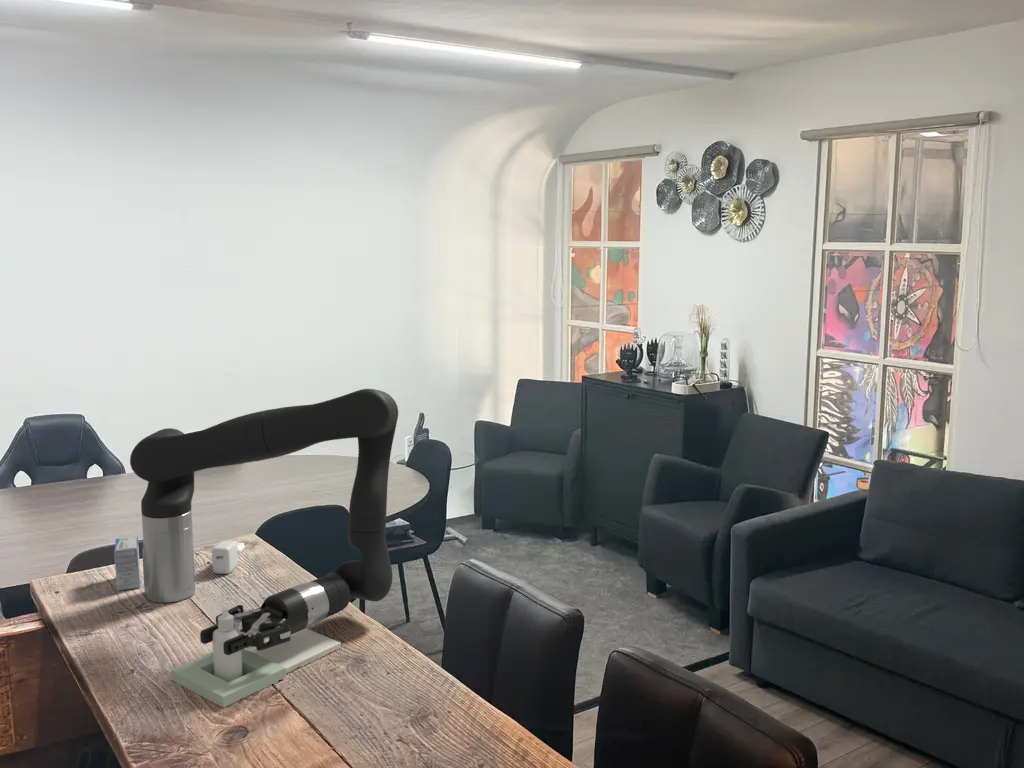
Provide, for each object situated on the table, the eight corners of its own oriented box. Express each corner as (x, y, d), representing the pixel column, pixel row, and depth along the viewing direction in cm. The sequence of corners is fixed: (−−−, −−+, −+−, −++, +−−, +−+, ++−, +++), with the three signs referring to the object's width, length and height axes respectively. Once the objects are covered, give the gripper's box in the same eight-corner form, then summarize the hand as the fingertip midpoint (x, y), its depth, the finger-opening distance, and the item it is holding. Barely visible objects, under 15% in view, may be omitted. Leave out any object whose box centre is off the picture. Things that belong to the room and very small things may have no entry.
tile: (241, 652, 160) (241, 647, 160) (296, 629, 169) (296, 624, 169) (286, 673, 153) (286, 668, 153) (341, 648, 162) (341, 642, 162)
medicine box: (140, 588, 187) (138, 547, 186) (116, 591, 185) (114, 550, 184) (140, 574, 194) (138, 535, 193) (117, 577, 193) (115, 537, 191)
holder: (171, 679, 150) (170, 669, 150) (233, 653, 160) (232, 643, 159) (223, 707, 142) (223, 696, 142) (286, 678, 151) (285, 667, 151)
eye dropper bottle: (241, 668, 154) (238, 600, 152) (242, 684, 149) (239, 614, 147) (214, 671, 153) (210, 603, 151) (214, 688, 148) (211, 617, 145)
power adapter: (229, 555, 206) (228, 530, 205) (250, 556, 205) (249, 531, 204) (209, 574, 195) (208, 548, 194) (231, 575, 194) (230, 549, 193)
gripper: (269, 578, 164) (185, 609, 151) (323, 599, 156) (240, 634, 143) (270, 617, 166) (187, 652, 152) (324, 640, 157) (242, 679, 144)
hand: (213, 643), depth 148 cm, fingers closed on eye dropper bottle, 5 cm apart
